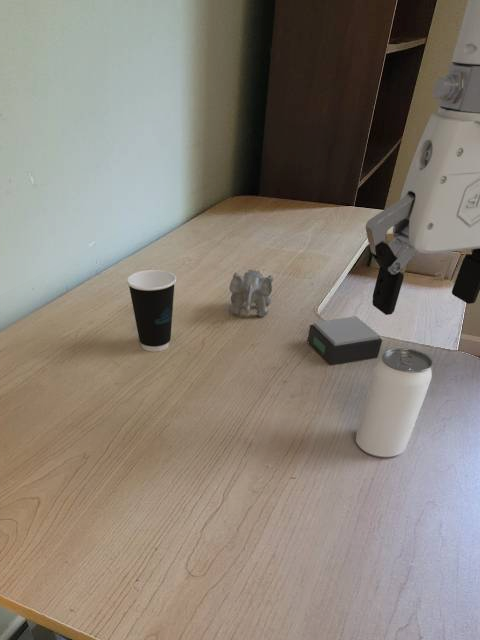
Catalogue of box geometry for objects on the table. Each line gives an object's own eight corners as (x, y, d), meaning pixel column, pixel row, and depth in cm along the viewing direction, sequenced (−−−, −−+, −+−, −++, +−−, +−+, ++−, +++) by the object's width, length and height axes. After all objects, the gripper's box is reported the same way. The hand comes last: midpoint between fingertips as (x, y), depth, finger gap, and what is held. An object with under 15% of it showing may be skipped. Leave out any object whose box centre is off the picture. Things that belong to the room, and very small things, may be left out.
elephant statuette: (266, 301, 101) (270, 259, 96) (284, 327, 93) (290, 283, 88) (220, 305, 101) (221, 263, 95) (234, 332, 92) (236, 287, 87)
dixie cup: (138, 333, 93) (133, 268, 85) (181, 336, 92) (180, 270, 84) (127, 354, 88) (120, 286, 80) (172, 357, 86) (170, 289, 78)
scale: (352, 335, 90) (357, 314, 88) (377, 357, 85) (383, 336, 82) (306, 342, 89) (309, 321, 86) (329, 365, 83) (333, 344, 81)
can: (351, 453, 67) (375, 368, 58) (357, 426, 71) (380, 343, 63) (404, 463, 65) (436, 377, 57) (406, 435, 70) (437, 350, 61)
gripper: (425, 104, 39) (367, 329, 51) (614, 93, 42) (516, 308, 54) (373, 93, 44) (332, 300, 56) (545, 84, 47) (470, 282, 59)
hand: (422, 304), depth 55 cm, fingers open, 9 cm apart
